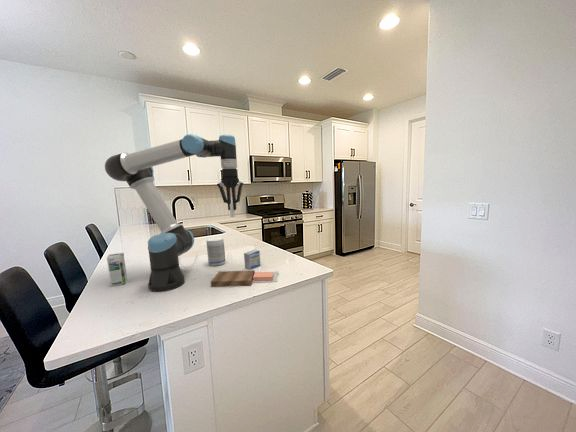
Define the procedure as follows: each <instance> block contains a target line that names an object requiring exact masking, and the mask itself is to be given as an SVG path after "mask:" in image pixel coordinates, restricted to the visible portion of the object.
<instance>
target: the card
mask: <svg viewBox="0 0 576 432" xmlns="http://www.w3.org/2000/svg"><path fill="white" fill-rule="evenodd" d="M273 272H274V271H262V272H261V271H255V274H254V276H253V281H273Z"/></svg>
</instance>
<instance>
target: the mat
mask: <svg viewBox="0 0 576 432" xmlns="http://www.w3.org/2000/svg"><path fill="white" fill-rule="evenodd" d="M272 272H273V281H253V282H252V284H257V283H258V284H259V283H277V282H278V277H279V276H278V275H279V271H272Z"/></svg>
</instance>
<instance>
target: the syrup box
mask: <svg viewBox="0 0 576 432" xmlns="http://www.w3.org/2000/svg"><path fill="white" fill-rule="evenodd" d="M124 255H125V254H124V252H118V253H110V254H108V255H107V257H106V260H107V266H108V267H107V268H108V273H109V281H110V286H111V287H115V286H116V287H118V286H122V285H126V283H127V281H128V275H127V269H126V268H127V266H126V261H125V256H124Z"/></svg>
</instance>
